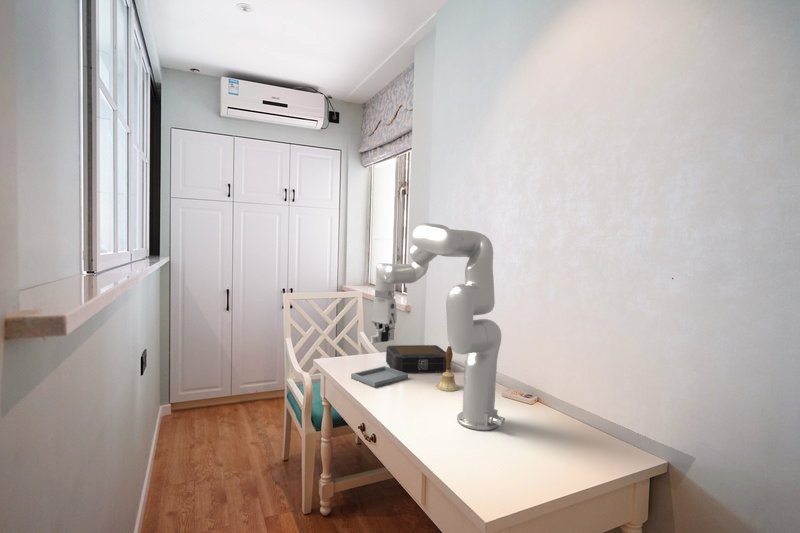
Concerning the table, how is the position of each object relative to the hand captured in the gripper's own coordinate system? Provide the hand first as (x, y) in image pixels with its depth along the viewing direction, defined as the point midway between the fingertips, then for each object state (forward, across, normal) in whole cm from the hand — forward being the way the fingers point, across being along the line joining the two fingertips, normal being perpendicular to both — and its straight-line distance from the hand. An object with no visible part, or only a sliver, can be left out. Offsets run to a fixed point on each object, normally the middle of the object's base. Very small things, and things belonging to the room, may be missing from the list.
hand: (382, 340), depth 165 cm
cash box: (+16, +3, -25) cm, 30 cm away
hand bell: (+16, -23, -13) cm, 31 cm away
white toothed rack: (+1, 0, 0) cm, 1 cm away
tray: (+15, +1, 0) cm, 15 cm away
